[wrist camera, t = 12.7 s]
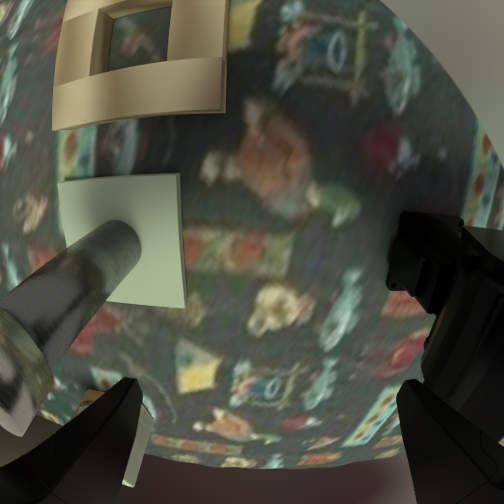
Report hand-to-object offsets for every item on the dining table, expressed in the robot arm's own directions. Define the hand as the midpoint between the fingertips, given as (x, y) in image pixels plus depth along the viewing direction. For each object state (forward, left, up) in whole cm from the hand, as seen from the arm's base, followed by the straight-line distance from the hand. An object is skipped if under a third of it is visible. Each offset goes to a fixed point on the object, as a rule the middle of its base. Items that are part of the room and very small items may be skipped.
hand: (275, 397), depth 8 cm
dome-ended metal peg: (+11, 0, -12) cm, 16 cm away
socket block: (+9, -15, -13) cm, 22 cm away
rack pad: (+11, 0, -13) cm, 17 cm away
